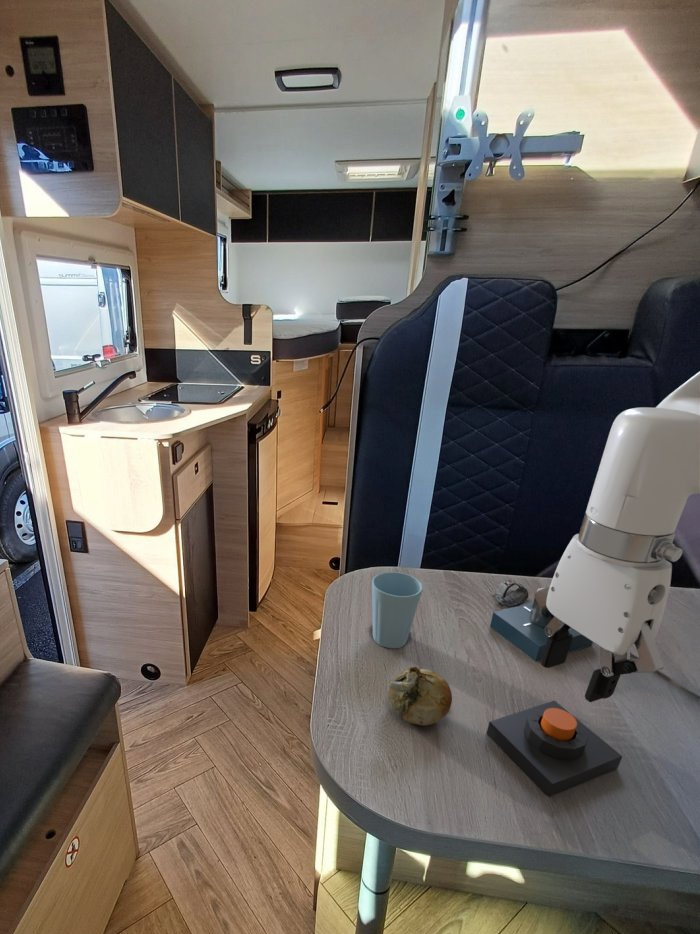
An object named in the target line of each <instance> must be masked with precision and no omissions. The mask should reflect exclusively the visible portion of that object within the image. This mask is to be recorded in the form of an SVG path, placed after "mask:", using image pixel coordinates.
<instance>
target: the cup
mask: <svg viewBox="0 0 700 934" xmlns="http://www.w3.org/2000/svg"><path fill="white" fill-rule="evenodd" d="M423 588H424V586H423V584H422V582H421V581H420V579H417V578H416V577H415V576H412V575H410V574H407V573H403V572H400V571H385V572H381V573H378V574H376V575H375V576H374V577H373V578H372V580H371V593H372V594H371V596H372V597H371V599H372V601H371V602H372V604H371V605H372V609H371V612H372V614H371V615H372V638H373V641H374V642H375V643H376V644H378V645H379V646H381V647H383V648H388V649H400V648H402V647H404V646H405V645H406V644H407V642H408V639H409V636H410V633H411V629H412V626H413V622H414V618H415V616H416V612H417V609H418V605H419V602H420V599H421V596H422V592H423Z"/></svg>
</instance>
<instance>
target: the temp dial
mask: <svg viewBox="0 0 700 934" xmlns="http://www.w3.org/2000/svg"><path fill="white" fill-rule="evenodd" d="M543 588H544V587H540V588H537V589H536V591H535V592H537V591H539V590H541V589H543ZM532 603H533V606H532V609H531V613H530V617H529V618H530V620H531V621H532V622H533V623H534V624H536V625H538V626H540V627H544V628H546V624H545V622H544V619H543V617H542V614H541V610H542V609H541V608H540V607H539V605H538V602H537V600H536V598H535V597H534V599H533V602H532Z"/></svg>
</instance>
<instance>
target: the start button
mask: <svg viewBox="0 0 700 934" xmlns="http://www.w3.org/2000/svg"><path fill="white" fill-rule="evenodd" d="M568 712H569V711H568ZM568 712H566V711H564V710H561V709H558V708H549V709H547V710H545V712H544V714H543V718H542V721H541V728H542V730H543V731H544V732H545V733H546V734H547V735H549V736H551V737H553V738H555V739H557V740H563V741H567V740H570V739H572V737H573V735H574V733H575V730H576V727H577V721H576V719H577V718H576V717H575V716H574V715H573V714H572V715H573V716H574V717H575V718H576V719H575V718H574V717H573V716H572V715H571V713H570V712H569V713H570V714H569V713H568Z"/></svg>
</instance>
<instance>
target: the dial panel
mask: <svg viewBox="0 0 700 934" xmlns="http://www.w3.org/2000/svg"><path fill="white" fill-rule="evenodd" d="M532 606H533V602H529V603H525V604H521V605H516V606H511V607H508V608H505V609H501V610H497V611H493V612H492V616H491V621H490V624H489V627H490V628H491V629H492V630H494V632H496V633H498V635H500V636H501V637H503V638H504V639H505V640H507V641H508V642H509V643H511V644H512V645H514V646H515V647H516V648H517V649H519V650H520V651H521V652H523V653H524V654H525V655H526V656H528V657H529V658H530V659H531V660H533V661H534V662H538V661H542V659H543V656H544V649H545V645H546V642H547V639H548V636H547V635H546V634H545V628H544V627H540V626H538V625H536V624H534V623H533V622H532V621H531V620H530V618H529V617H530V613H531V609H532ZM569 633H570V634H572V635H573V636H572V638H573V639H572V642H571V645H570V648H569V651H568V653H570V652H573V651H577V650H580V649H584V648H588V647H591V646H592V645H593V643H594V642H593V641H591V640H590V639H588V638H587V637H585V636H584V635H582V634H581V633H579V632H577V631H576V630H574V629H573V628H572V629H571V630H570V631H569Z"/></svg>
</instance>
